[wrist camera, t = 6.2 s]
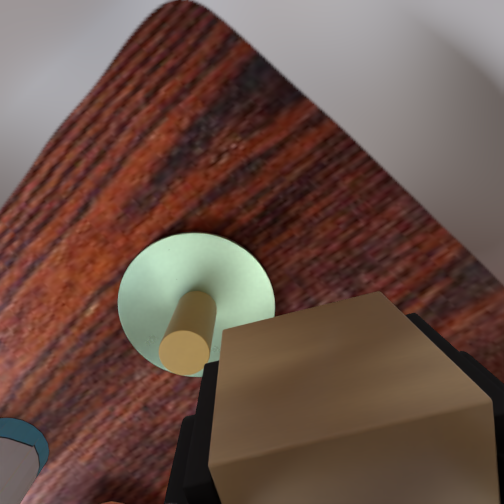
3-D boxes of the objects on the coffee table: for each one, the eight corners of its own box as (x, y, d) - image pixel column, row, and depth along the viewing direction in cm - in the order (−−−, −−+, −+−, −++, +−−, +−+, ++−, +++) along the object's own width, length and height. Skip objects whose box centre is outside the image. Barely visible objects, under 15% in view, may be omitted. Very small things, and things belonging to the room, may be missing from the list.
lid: (251, 210, 27) (254, 231, 20) (289, 349, 31) (305, 410, 23) (98, 253, 28) (47, 288, 20) (152, 384, 31) (125, 455, 24)
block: (379, 289, 10) (494, 399, 5) (401, 422, 11) (510, 601, 6) (221, 328, 10) (206, 465, 5) (260, 455, 11) (273, 651, 7)
